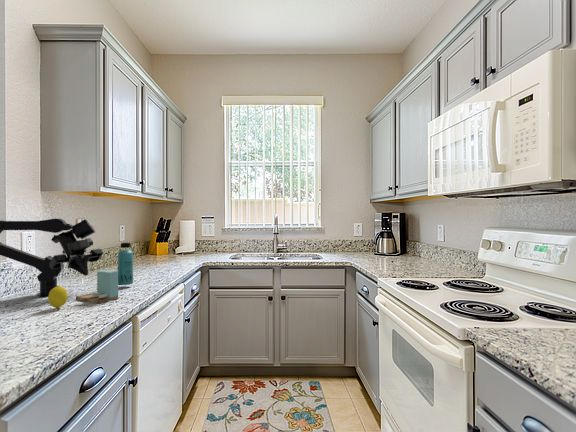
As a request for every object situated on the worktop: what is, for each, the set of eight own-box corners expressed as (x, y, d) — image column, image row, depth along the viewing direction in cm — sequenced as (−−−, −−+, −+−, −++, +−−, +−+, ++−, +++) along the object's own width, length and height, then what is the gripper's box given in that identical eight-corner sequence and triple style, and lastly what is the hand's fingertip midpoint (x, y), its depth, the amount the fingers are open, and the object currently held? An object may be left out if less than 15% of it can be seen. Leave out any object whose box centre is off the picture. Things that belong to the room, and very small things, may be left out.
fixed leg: (96, 298, 123) (96, 273, 123) (111, 294, 129) (111, 270, 129) (102, 299, 122) (102, 273, 122) (118, 295, 128) (118, 271, 128)
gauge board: (75, 299, 126) (75, 296, 126) (94, 295, 133) (94, 292, 133) (100, 303, 121) (100, 299, 121) (118, 298, 128) (118, 295, 128)
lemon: (57, 311, 111) (57, 287, 111) (44, 310, 112) (44, 286, 112) (71, 307, 116) (71, 284, 116) (58, 306, 117) (58, 283, 117)
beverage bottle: (113, 287, 147) (113, 242, 147) (126, 285, 153) (126, 241, 153) (124, 289, 144) (124, 243, 144) (136, 286, 150) (136, 242, 150)
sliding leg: (89, 297, 124) (89, 272, 124) (105, 294, 130) (105, 269, 130) (96, 298, 123) (96, 273, 123) (111, 294, 129) (111, 270, 129)
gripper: (52, 234, 125) (69, 267, 121) (100, 229, 141) (117, 258, 137) (41, 253, 129) (58, 285, 125) (89, 246, 146) (105, 274, 141)
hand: (86, 274), depth 132 cm, fingers closed
